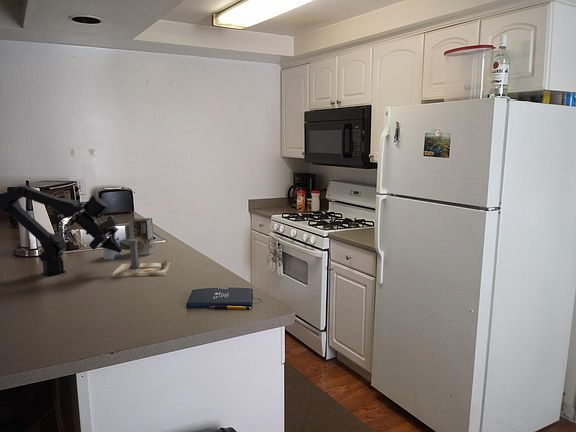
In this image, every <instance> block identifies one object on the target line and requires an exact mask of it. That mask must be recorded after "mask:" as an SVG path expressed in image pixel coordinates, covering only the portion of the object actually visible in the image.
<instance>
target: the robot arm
mask: <svg viewBox="0 0 576 432" xmlns="http://www.w3.org/2000/svg"><path fill="white" fill-rule="evenodd" d="M21 198H25V199H28V200H31V201H32V202H33V201H34V202H36V203H38V204H42V205H44V206H47V207H50V208H51V209H53V210H54V211H56V212H57V213H58V214H60V215H62V216H63V217H67V218H70V217H73V216H74V217H73V218H70V219H69V220H70V225H69V226H71V227H73V226H75V225H76V224H77V225H78V226H79V227H80V228H81V229H82V230H84V232H85V235H87V236H91V237H92V238H93V240H92V241H90V242H89V247H90V249H92V250H93V251H95V250H96V249H97V248H98V246H99V245H100V244H101V245H100V246H99V248H100V249H101V248H102V249H103V248H105V249H109V250H113V251H116V252H119V253H120V254H121V253H122V251H123V250H122V247H120V246H119V245H118V243H117V242H116V240H115V237H116V236H115V235H116V233H117V232H118V230H119V228H117V227H116V226H117V225H119V221H118V217H116V216H113V215H110V216H107V220H105V221H101V220H98V221H97V220H96V219H95V218H94V217H97V218H98V217H99V216H100V215H101V214H102V213H103V212H104V211H105V210H106V209H107V208H108V206H109V205H108V203H107V202H106V201H105V200H104V199H102V198H100V197H97V196H96V195H95V194H94V195H91V197H90V198H89V200H87V202H86V203H80V202H79V201H78V200H75V199H71V198H61V197H56V196H55V195H52V194H48V193H46V192H44V191H40V190H38V189H36V188H33V187H30V186H29V185H26V184H25V185H20V186H18V187H16V188H13V189H11V190H9V191H2V192H0V212H3V213H4V214H7V215H10V216H11V217H12V218H13V219H15V221H17V222H18V223H19V224H20V225H21V226H22V227H23V228H24V229H26V230H27V231H28V232H29V233H30V234H31V235H32V236H33V237H34V238H35V239H37V240H38V242H39V244H40V247H41V248H42V250H43V251H42V253H41V254H39V256H38V258H39V260H40V262H42V263H41V264H42V272H41V273H40V274H41V275H45V276H48V277H53V276H56V275H59V274H60V275H61V274H64V273H66V270H65V269H64V260H63V253H64V252H65V251H66V250H67V247H68V246H67V242H66V241H65V239H66V238H64V237H63V236H62V235H60V234H59V233H58V232H55V233H51V232H49V231H48V230H47V229H45V227H43V225H42V224H41V223H39V221H37V220H36V219H34V217H33V216H31V214H29V213H28V212H27V211H26V210H25V209H24V208H23V207H22V206H21V203H20V201H19V200H20V199H21ZM80 212H82V213H80ZM75 215H76V216H75Z"/></svg>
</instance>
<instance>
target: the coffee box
mask: <svg viewBox="0 0 576 432" xmlns="http://www.w3.org/2000/svg"><path fill="white" fill-rule="evenodd" d="M127 223H128V224H127V225H128V234H129V238H130V239H138V242H137V249H138V256H139V255H140V256H141V255H143V256H150V255H152V254H153V253H155V246H154V245H155V244H154V243H155V242H153V241H154V232H153V231H154V229H153V217H152V218H150V217H147V218H146V217H144V218H143V217H139V218H138V217H137V218H134V217H133V218H132V219H129V220H127Z"/></svg>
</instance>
